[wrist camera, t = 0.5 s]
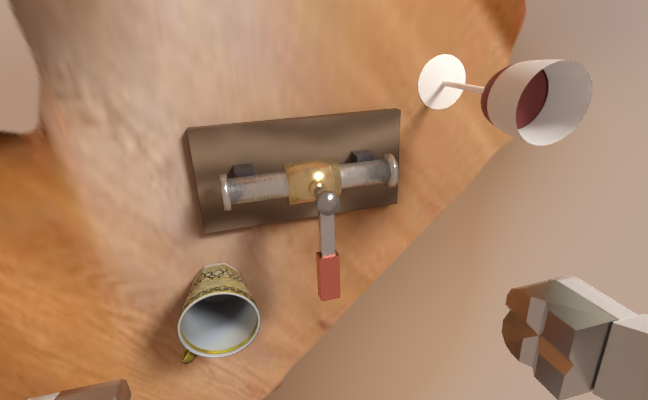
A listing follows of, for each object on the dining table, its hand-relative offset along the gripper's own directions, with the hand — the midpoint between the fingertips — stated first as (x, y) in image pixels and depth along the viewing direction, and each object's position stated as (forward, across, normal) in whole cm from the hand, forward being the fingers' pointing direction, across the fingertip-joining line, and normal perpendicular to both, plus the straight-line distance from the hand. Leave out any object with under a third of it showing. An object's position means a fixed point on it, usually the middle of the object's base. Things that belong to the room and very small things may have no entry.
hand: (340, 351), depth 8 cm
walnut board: (+45, -9, +10) cm, 47 cm away
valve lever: (+36, -9, +16) cm, 40 cm away
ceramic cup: (+46, +6, +27) cm, 53 cm away
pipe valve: (+43, -9, +10) cm, 46 cm away
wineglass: (+45, -30, 0) cm, 54 cm away
